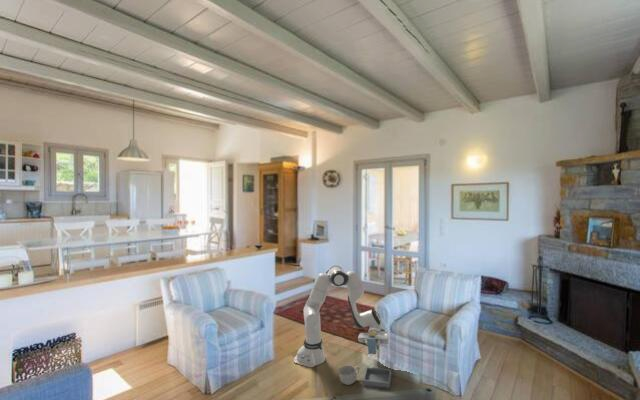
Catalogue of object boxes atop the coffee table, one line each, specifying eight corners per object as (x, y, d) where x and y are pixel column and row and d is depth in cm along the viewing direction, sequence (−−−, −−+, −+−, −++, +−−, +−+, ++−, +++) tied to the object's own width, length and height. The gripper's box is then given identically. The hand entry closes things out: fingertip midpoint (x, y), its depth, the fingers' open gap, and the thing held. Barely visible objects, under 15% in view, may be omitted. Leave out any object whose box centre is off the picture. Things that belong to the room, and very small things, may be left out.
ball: (368, 334, 207) (370, 330, 209) (370, 336, 209) (371, 331, 211) (372, 336, 206) (374, 331, 207) (374, 337, 208) (375, 333, 209)
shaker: (368, 353, 206) (367, 338, 205) (369, 349, 211) (368, 334, 210) (376, 354, 205) (375, 338, 204) (377, 350, 209) (375, 335, 209)
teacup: (343, 389, 192) (342, 376, 192) (337, 378, 203) (336, 366, 202) (364, 383, 196) (363, 371, 195) (357, 373, 206) (356, 361, 206)
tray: (363, 386, 193) (362, 380, 193) (366, 372, 207) (366, 367, 207) (389, 388, 189) (389, 383, 189) (391, 374, 202) (391, 369, 202)
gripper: (359, 328, 223) (355, 338, 209) (388, 330, 217) (387, 340, 204) (360, 337, 223) (356, 348, 210) (389, 339, 217) (388, 350, 204)
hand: (372, 344), depth 207 cm, fingers closed on shaker, 5 cm apart
